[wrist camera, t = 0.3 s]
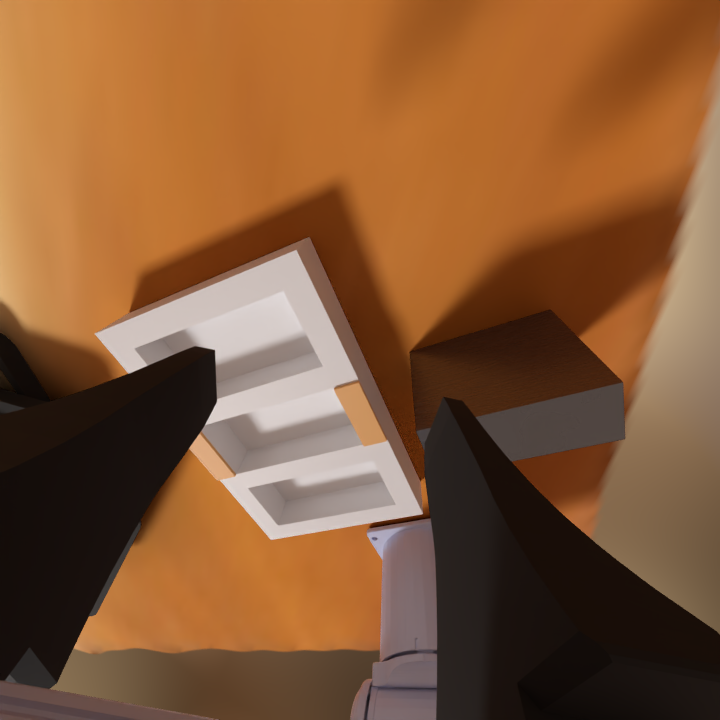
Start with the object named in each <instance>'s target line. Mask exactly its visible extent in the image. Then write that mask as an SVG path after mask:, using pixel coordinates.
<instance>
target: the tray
mask: <svg viewBox="0 0 720 720" xmlns="http://www.w3.org/2000/svg"><path fill="white" fill-rule="evenodd" d="M0 369H1V371H2V372H3V374H4V375H5V376H6V378H7V379H8V381H9V382H10V384H11V385H12V387H13V388H14V390H15V391H16V393H14V392H10V391H7V390H3V389H0V415H1V414H5V413H9V412H13V411H17V410H21V409H25V408H29V407H33V406H36V405H40V404H43V403H47V402H50V399H49V397H48V396H47V394H46V393H45V391H44V389H43V388H42V386H41V385H40V383H39V381H38V380H37V378H36V377H35V375H34V374H33V372H32V370H31V369H30V367H29V366H28V364H27V362H26V361H25V359H24V358H23V356H22V354H21V353H20V351H19V350H18V348H17V347H16V345H15V344H14V343H13V342H12V341H11V340H10V339H9V338H7V337H6V336H5V335H3V334H1V333H0ZM140 528H141V520H140V522H139V524H138V525H137V527H136V529H135V530H134V532H133V534H132V536H131V537H130V539H129V541H128V543H127V545H126V547H125V548H124V550H123V552H122V554H121V556H120V557H119V559H118V561H117V563H116V565H115V567H114V568H113V570H112V572H111V574H110V576H109V578H108V580H107V582H106V584H105V586H104V588H103V590H102V591H101V593H100V595H99V597H98V599H97V601H96V603H95V605H94V607H93V609H92V611H91V613H90V615H89V616H94V615H96V613H97V612H98V610H99V608H100V606H101V604H102V602H103V600H104V598H105V596H106V594H107V592H108V590H109V589H110V587H111V585H112V583H113V581H114V579H115V577H116V575H117V573H118V571H119V569H120V567H121V565H122V563H123V561H124V559H125V557H126V555H127V553H128V551H129V549H130V547H131V546H132V544H133V542H134V540H135V538H136V536H137V534H138V532H139V530H140Z"/></svg>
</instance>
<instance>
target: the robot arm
mask: <svg viewBox="0 0 720 720" xmlns="http://www.w3.org/2000/svg"><path fill="white" fill-rule="evenodd" d="M216 403H217V387H216V361H215V350H213V349H208V348H203V347H198V346H194V347H191V348H188V349H186V350H183V351H181V352H178V353H176V354H174V355H171V356H169V357H167V358H164V359H162V360H160V361H157V362H155V363H153V364H150V365H148V366H146V367H143V368H141V369H139V370H136V371H134V372H131V373H129V374H126V375H124V376H121V377H119V378H116V379H113V380H111V381H108V382H106V383H103V384H100V385H98V386H95V387H93V388H90V389H87V390H84V391H81V392H78V393H75V394H72V395H69V396H66V397H63V398H60V399H56V400H53V401H50V402H47V403H43V404H40V405H36V406H33V407H29V408H25V409H21V410H17V411H13V412H9V413H5V414H1V415H0V720H218V719H213V718H207V717H202V716H196V715H191V714H185V713H179V712H174V711H168V710H162V709H157V708H151V707H146V706H140V705H135V704H129V703H124V702H118V701H113V700H107V699H102V698H96V697H90V696H85V695H79V694H74V693H68V692H63V691H57V690H51V689H50V688H51V687H52V686H54V685H55V684H56V683H57V682H58V680H59V677H60V675H61V673H62V671H63V669H64V667H65V664H66V662H67V660H68V658H69V656H70V654H71V652H72V650H73V648H74V646H75V644H76V642H77V639H78V637H79V635H80V633H81V631H82V629H83V627H84V625H85V623H86V621H87V619H88V617H89V615H90V613H91V611H92V609H93V607H94V605H95V603H96V601H97V599H98V597H99V595H100V593H101V591H102V590H103V588H104V586H105V584H106V582H107V580H108V578H109V576H110V574H111V572H112V570H113V568H114V567H115V565H116V563H117V561H118V559H119V557H120V556H121V554H122V552H123V550H124V548H125V547H126V545H127V543H128V541H129V539H130V537H131V536H132V534H133V532H134V530H135V529H136V527H137V525H138V524H139V522H140V520H141V518H142V517H143V515H144V513H145V511H146V510H147V508H148V506H149V505H150V503H151V501H152V500H153V498H154V497H155V495H156V494H157V492H158V491H159V489H160V488H161V486H162V485H163V484H164V482H165V481H166V480H167V478H168V477H169V475H170V474H171V473H172V471H173V470H174V468H175V467H176V466H177V464H178V463H179V462H180V460H181V459H182V457H183V456H184V455H185V453H186V452H187V451H188V449H189V448H190V446H191V445H192V444H193V442H194V441H195V439H196V438H197V436H198V435H199V434H200V432H201V431H202V429H203V428H204V426H205V424H206V422H207V420H208V418H209V417H210V415H211V413H212V411H213V409H214V407H215V405H216ZM424 464H425V480H426V488H427V496H428V503H429V511H430V518H429V519H423V520H417V521H411V522H405V523H399V524H393V525H387V526H381V527H375V528H370V529H368V530H367V536H368V538H369V539H370V541H371V543H372V544H373V546H374V547H375V549H376V551H377V552H378V554H379V555H380V557H381V558H382V560H383V565H382V602H381V639H380V662H374V663H373V675H372V679H367V680H365V681H364V682H363V684H362V686H361V688H360V690H359V691H358V693H357V694H356V697H355V699H354V703H353V706H352V712H351V717H350V720H720V635H719V634H718V632H717V631H715V630H714V629H712V628H711V627H710V626H708V625H706V624H705V623H704V622H702V621H701V620H699V619H698V618H696V617H695V616H693V615H692V614H691V613H689V612H688V611H686V610H685V609H683V608H682V607H680V606H679V605H677V604H676V603H675V602H673V601H672V600H670V599H669V598H667V597H666V596H665V595H663V594H662V593H660V592H659V591H657V590H656V589H655V588H653V587H652V586H650V585H649V584H648V583H646V582H645V581H643V580H642V579H641V578H640V577H638V576H637V575H636V574H634V573H633V572H632V571H630V570H629V569H628V568H627V567H625V566H624V565H623V564H621V563H620V562H619V561H617V560H616V559H615V558H613V557H612V556H611V555H610V554H609V553H607V552H606V551H605V550H603V549H602V548H601V547H600V546H599V545H597V544H596V543H595V542H594V541H593V540H591V539H590V538H589V537H588V536H587V535H586V534H584V533H583V532H582V531H581V530H580V529H579V528H577V527H576V526H575V525H574V524H573V523H572V522H571V521H569V520H568V519H567V518H566V517H565V516H564V515H563V514H562V513H561V512H560V511H558V510H557V509H556V508H555V507H554V506H553V505H552V504H551V503H550V502H549V501H548V500H547V499H546V498H545V497H544V496H543V495H542V494H541V493H540V492H539V491H538V490H537V489H536V488H535V487H534V486H533V485H532V484H531V483H530V482H529V481H528V480H527V479H526V478H525V476H524V475H523V474H522V473H521V472H520V471H519V470H518V469H517V468H516V466H515V465H514V464H513V463H512V462H511V461H510V460H509V458H508V457H507V456H506V455H505V454H504V453H503V451H502V450H501V449H500V448H499V447H498V445H497V444H496V443H495V442H494V440H493V439H492V438H491V437H490V435H489V434H488V433H487V431H486V430H485V429H484V428H483V426H482V425H481V424H480V422H479V421H478V420H477V419H476V417H475V416H474V415H473V413H472V412H471V411H470V409H469V408H468V407H467V406H466V404H465V403H464V402H463V401H462V400H457V399H452V398H447V397H443V398H442V401H441V404H440V406H439V409H438V411H437V414H436V416H435V419H434V421H433V424H432V426H431V429H430V431H429V434H428V436H427V439H426V441H425V455H424Z"/></svg>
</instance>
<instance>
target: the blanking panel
mask: <svg viewBox="0 0 720 720" xmlns="http://www.w3.org/2000/svg"><path fill="white" fill-rule="evenodd" d="M410 362H411V374H412V387H413V399H414V411H415V424H416V432H417V434H418V437H419V439H420V442H421V444H422V446H423V449H424V451H425V441H426V439H427V436H428V434H429V431H430V429H431V426H432V424H433V421H434V419H435V416H436V414H437V411H438V409H439V406H440V404H441V401H442V398H443V397H447V398H452V399H457V400H462V401H463V402H464V403H465V404H466V406H467V407H468V408H469V409H470V411H471V412H472V413H473V415H474V416H475V417H476V419H477V420H478V421H479V422H480V424H481V425H482V426H483V428H484V429H485V430H486V431H487V433H488V434H489V435H490V437H491V438H492V439H493V440H494V442H495V443H496V444H497V445H498V447H499V448H500V449H501V450H502V451H503V453H504V454H505V455H506V456H507V457H508V458H509V460H510V461H516V460H521V459H527V458H532V457H537V456H542V455H547V454H552V453H557V452H562V451H567V450H572V449H577V448H582V447H587V446H592V445H598V444H603V443H608V442H613V441H618V440H623V439H625V421H624V393H623V382H622V381H621V380H620V379H619V378H618V377H617V376H616V375H615V374H614V373H613V372H612V371H611V370H610V369H609V368H608V367H607V366H606V365H605V364H604V363H603V362H602V361H601V360H600V359H599V358H598V357H597V356H596V355H595V354H594V353H593V352H592V351H591V350H590V349H589V348H588V347H587V346H586V345H585V344H584V343H583V342H582V341H581V340H580V339H579V338H578V337H577V336H576V335H575V334H574V333H573V332H572V331H571V330H570V329H569V328H568V327H567V326H566V325H565V324H564V323H563V322H562V321H561V320H560V319H559V318H558V317H557V316H556V315H555V314H554V313H553V312H552V311H551V310H548V311H545V312H541V313H538V314H534V315H531V316H528V317H524V318H521V319H518V320H514V321H511V322H508V323H504V324H501V325H498V326H494V327H491V328H488V329H484V330H481V331H478V332H474V333H471V334H468V335H464V336H461V337H458V338H454V339H451V340H447V341H444V342H441V343H437V344H434V345H431V346H427V347H424V348H421V349H417V350H414V351H411V352H410Z"/></svg>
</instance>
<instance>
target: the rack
mask: <svg viewBox="0 0 720 720" xmlns="http://www.w3.org/2000/svg"><path fill="white" fill-rule="evenodd" d="M95 335H96V336H97V337H98V338H99V339H100V341H101V342H102V343H103V344H104V345H105V346H106V348H107V349H108V350H109V351H110V352H111V353H112V355H113V356H114V357H115V358H116V359H117V360H118V362H119V363H120V364H121V365H122V366H123V367H124V369H125V370H126V371H127V372H128V373H131V372H134V371H136V370H139V369H141V368H143V367H146V366H148V365H150V364H153V363H155V362H157V361H160V360H162V359H164V358H167V357H169V356H171V355H174V354H176V353H178V352H181V351H183V350H186V349H188V348H191V347H194V346H198V347H203V348H208V349H213V350H215V361H216V387H217V403H216V405H215V407H214V409H213V411H212V413H211V415H210V417H209V418H208V420H207V422H206V424H205V426H204V428H203V429H202V431H201V432H200V434H199V435H198V436H197V438H196V439H195V441H194V442H193V444H192V445H191V446H190V448H189V449H190V450H191V451H192V452H193V453H194V454H195V456H196V457H197V458H198V459H199V460H200V461H201V463H202V464H203V465H204V466H205V467H206V468H207V469H208V471H209V472H210V473H211V474H212V475H213V476H214V478H215V479H216V480H217V481H218V480H220V481H221V482H222V483H223V484H224V485H225V487H226V488H227V489H228V490H229V491H230V492H231V494H232V495H233V496H234V497H235V498H236V499H237V501H238V502H239V503H240V504H241V505H242V506H243V508H244V509H245V510H246V511H247V512H248V513H249V515H250V516H251V517H252V518H253V519H254V520H255V522H256V523H257V524H258V525H259V526H260V527H261V529H262V530H263V531H264V532H265V533H266V534H267V536H268V537H269V538H270V539H271V540H273V539H279V538H285V537H291V536H297V535H302V534H308V533H314V532H320V531H326V530H332V529H338V528H344V527H350V526H356V525H361V524H367V523H373V522H379V521H385V520H391V519H397V518H403V517H409V516H415V515H420V514H423V508H422V495H421V483H420V480H419V477H418V475H417V473H416V471H415V469H414V466H413V464H412V462H411V460H410V458H409V455H408V453H407V451H406V449H405V447H404V444H403V442H402V440H401V438H400V436H399V433H398V431H397V429H396V427H395V424H394V422H393V420H392V418H391V416H390V413H389V411H388V409H387V407H386V405H385V402H384V400H383V398H382V396H381V394H380V391H379V389H378V387H377V385H376V383H375V380H374V378H373V376H372V374H371V372H370V369H369V367H368V365H367V363H366V360H365V358H364V356H363V354H362V352H361V349H360V347H359V345H358V343H357V341H356V338H355V336H354V334H353V332H352V330H351V327H350V325H349V323H348V321H347V319H346V316H345V314H344V312H343V310H342V308H341V305H340V303H339V301H338V299H337V296H336V294H335V292H334V290H333V288H332V285H331V283H330V281H329V279H328V277H327V274H326V272H325V270H324V268H323V266H322V263H321V261H320V259H319V257H318V255H317V252H316V250H315V248H314V246H313V244H312V241H311V239H310V237H308V238H305V239H303V240H301V241H298V242H296V243H293V244H291V245H289V246H286V247H284V248H282V249H279V250H277V251H275V252H272V253H270V254H267V255H265V256H263V257H260V258H258V259H256V260H253V261H251V262H249V263H246V264H244V265H241V266H239V267H237V268H234V269H232V270H230V271H227V272H225V273H222V274H220V275H218V276H215V277H213V278H211V279H208V280H206V281H204V282H201V283H199V284H196V285H194V286H192V287H189V288H187V289H185V290H182V291H180V292H178V293H175V294H173V295H170V296H168V297H166V298H163V299H161V300H159V301H156V302H154V303H152V304H149V305H147V306H144V307H142V308H140V309H137V310H135V311H133V312H130V313H128V314H126V315H125V316H123V317H122V318H120V319H118V320H117V321H115V322H113V323H112V324H110V325H108V326H107V327H105V328H103V329H102V330H100V331H98V332H97V333H95Z"/></svg>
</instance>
